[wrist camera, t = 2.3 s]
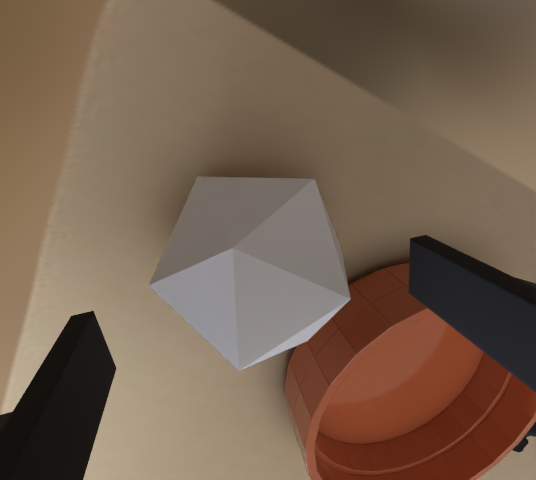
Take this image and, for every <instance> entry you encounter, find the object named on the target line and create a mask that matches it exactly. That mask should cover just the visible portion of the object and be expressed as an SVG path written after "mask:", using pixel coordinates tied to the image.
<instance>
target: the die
mask: <svg viewBox="0 0 536 480" xmlns="http://www.w3.org/2000/svg"><path fill="white" fill-rule="evenodd" d="M148 286H149V287H151V288H152V289H153V290H154V291H155V292H156V293H157V294H158V295H159V296H160V297H161V298H162V299H163V300H164V301H165V302H166V303H167V304H169V305H170V306H171V307H172V308H173V309H174V310H175V311H176V312H177V313H178V314H179V315H180V316H181V317H182V318H183V319H184V320H185V321H187V322H188V323H189V324H190V325H191V326H192V327H193V328H194V329H195V330H196V331H197V332H198V333H199V334H200V335H201V336H202V337H203V338H205V339H206V340H207V341H208V342H209V343H210V344H211V345H212V346H213V347H214V348H215V349H216V350H217V351H218V352H219V353H220V354H222V355H223V356H224V357H225V358H226V359H227V360H228V361H229V362H230V363H231V364H232V365H233V366H234V367H235V368H236V369H237V370H238V371H240V370H242V369H244V368H247V367H249V366H251V365H254V364H256V363H258V362H261V361H263V360H265V359H267V358H270V357H272V356H274V355H277V354H279V353H281V352H283V351H286V350H288V349H290V348H293V347H295V346H297V345H300V344H302V343H304V342H306V341H308V340H309V339H310V338H311V337H312V336H313V335H314V334H315V333H316V332H317V331H318V330H319V329H320V328H321V327H322V326H323V325H324V324H325V323H327V322H328V321H329V320H330V319H331V318H332V317H333V316H334V315H335V314H336V313H337V312H338V311H339V310H340V309H341V308H342V307H343V306H344V305H345V304H346V303H347V302H348V301H349V300H350V299H351V298H350V292H349V287H348V282H347V276H346V271H345V265H344V260H343V255H342V249H341V246H340V244H339V241H338V239H337V236H336V233H335V231H334V228H333V226H332V223H331V220H330V218H329V215H328V212H327V210H326V207H325V205H324V202H323V199H322V197H321V194H320V192H319V189H318V186H317V184H316V181H315V179H305V178H250V177H197V178H196V180H195V183H194V185H193V187H192V189H191V192H190V194H189V196H188V198H187V201H186V203H185V205H184V207H183V209H182V212H181V214H180V216H179V218H178V221H177V223H176V225H175V227H174V230H173V232H172V234H171V236H170V238H169V241H168V243H167V245H166V247H165V250H164V252H163V254H162V256H161V259H160V261H159V263H158V265H157V268H156V270H155V272H154V274H153V276H152V279H151V281H150V283H149V285H148Z"/></svg>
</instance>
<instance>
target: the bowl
mask: <svg viewBox="0 0 536 480" xmlns="http://www.w3.org/2000/svg"><path fill="white" fill-rule="evenodd" d="M348 287H349V292H350V298H351V299H350V300H349V301H348V302H347V303H346V304H345V305H344V306H343V307H342V308H341V309H340V310H339V311H338V312H337V313H336V314H335V315H334V316H333V317H332V318H331V319H330V320H329V321H328V322H327V323H325V324H324V325H323V326H322V327H321V328H320V329H319V330H318V331H317V332H316V333H315V334H314V335H313V336H312V337H311V338H310V339H309V340H308V341H306V342H304V343H302V344H300V345H297V346H295V349H294V351H293V354H292V357H291V359H290V362H289V365H288V370H287V376H286V382H285V387H284V392H285V398H286V405H287V411H288V415H289V418H290V421H291V424H292V427H293V430H294V433H295V436H296V439H297V442H298V445H299V448H300V451H301V454H302V457H303V460H304V463H305V466H306V469H307V472H308V475H309V476H310V478H311V480H476V479H478V478H479V477H480V476H482V475H483V474H485V473H486V472H487V471H489V470H490V469H491V468H493V467H494V466H495V465H497V464H498V463H499V462H500V461H501V460H502V459H503V458H504V457H505V456H506V455H507V454H508V453H509V452H510V451H511V450H512V449H513V448H514V447H515V446H517V445H518V444H519V442H520V441H521V440H522V439H523V437H524V436H525V435H526V434H527V432H528V431H529V430H530V428H531V427H532V426H533V424H534V423H535V422H536V393H535V392H534V391H533V390H532V389H530V388H529V387H528V386H527V385H525V384H524V383H523V382H521V381H520V380H519V379H518V378H516V377H515V376H514V375H512V374H511V373H510V372H509V371H507V370H506V369H505V368H504V367H502V366H501V365H500V364H498V363H497V362H496V361H495V360H493V359H492V358H491V357H490V356H488V355H487V354H486V353H484V352H483V351H482V350H481V349H479V348H478V347H477V346H476V345H474V344H473V343H472V342H470V341H469V340H468V339H467V338H465V337H464V336H463V335H461V334H460V333H459V332H458V331H456V330H455V329H454V328H453V327H451V326H450V325H449V324H447V323H446V322H445V321H444V320H442V319H441V318H440V317H439V316H437V315H436V314H435V313H433V312H432V311H431V310H430V309H428V308H427V307H426V306H424V305H423V304H422V303H421V302H419V301H418V300H417V299H416V298H414V297H413V296H412V295H410V294H409V293H408V291H409V263H404V264H398V265H393V266H390V267H386V268H383V269H380V270H377V271H375V272H372V273H370V274H368V275H365V276H363V277H362V278H360V279H358V280H356V281H354V282H353V283H351V284H349V285H348Z"/></svg>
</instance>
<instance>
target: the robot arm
mask: <svg viewBox="0 0 536 480" xmlns="http://www.w3.org/2000/svg"><path fill="white" fill-rule="evenodd" d="M408 293H409V294H410V295H412V296H413V297H414V298H416V299H417V300H418V301H419V302H421V303H422V304H423V305H424V306H426V307H427V308H428V309H430V310H431V311H432V312H433V313H435V314H436V315H437V316H439V317H440V318H441V319H442V320H444V321H445V322H446V323H447V324H449V325H450V326H451V327H453V328H454V329H455V330H456V331H458V332H459V333H460V334H461V335H463V336H464V337H465V338H467V339H468V340H469V341H470V342H472V343H473V344H474V345H476V346H477V347H478V348H479V349H481V350H482V351H483V352H484V353H486V354H487V355H488V356H490V357H491V358H492V359H493V360H495V361H496V362H497V363H498V364H500V365H501V366H502V367H504V368H505V369H506V370H507V371H509V372H510V373H511V374H512V375H514V376H515V377H516V378H518V379H519V380H520V381H521V382H523V383H524V384H525V385H527V386H528V387H529V388H530V389H532V390H533V391H534V392H535V393H536V284H535V283H532V282H528V281H525V280H521V279H518V278H514V277H512V276H510V275H508V274H506V273H504V272H502V271H499V270H497V269H495V268H493V267H491V266H489V265H487V264H485V263H483V262H481V261H479V260H477V259H475V258H472V257H470V256H468V255H466V254H464V253H462V252H460V251H458V250H456V249H454V248H452V247H450V246H448V245H445V244H443V243H441V242H439V241H437V240H435V239H433V238H431V237H429V236H427V235H424V236H419V237H415V238H411V239H410V259H409V291H408ZM115 371H116V366H115V364H114V361H113V359H112V356H111V354H110V351H109V349H108V346H107V344H106V341H105V339H104V336H103V334H102V331H101V329H100V326H99V324H98V321H97V319H96V316H95V314H94V311H91V312H86V313H82V314H78V315H73V316H71V317H70V319H69V321H68V322H67V324H66V326H65V327H64V329H63V331H62V332H61V334H60V335H59V337H58V339H57V340H56V342H55V344H54V345H53V347H52V349H51V350H50V352H49V353H48V355H47V357H46V358H45V360H44V362H43V363H42V365H41V367H40V368H39V370H38V371H37V373H36V375H35V376H34V378H33V380H32V381H31V383H30V385H29V386H28V388H27V389H26V391H25V393H24V394H23V396H22V398H21V399H20V401H19V403H18V404H17V406H16V407H15V409H14V411H13V412H10V413H7V414H3V415H0V480H83V478H84V474H85V471H86V468H87V464H88V461H89V458H90V454H91V451H92V448H93V444H94V441H95V438H96V434H97V431H98V428H99V424H100V421H101V418H102V414H103V411H104V408H105V404H106V401H107V398H108V394H109V391H110V388H111V384H112V381H113V378H114V374H115Z"/></svg>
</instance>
